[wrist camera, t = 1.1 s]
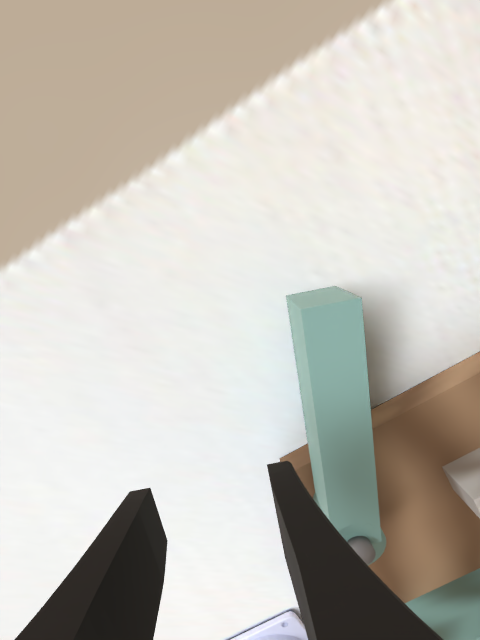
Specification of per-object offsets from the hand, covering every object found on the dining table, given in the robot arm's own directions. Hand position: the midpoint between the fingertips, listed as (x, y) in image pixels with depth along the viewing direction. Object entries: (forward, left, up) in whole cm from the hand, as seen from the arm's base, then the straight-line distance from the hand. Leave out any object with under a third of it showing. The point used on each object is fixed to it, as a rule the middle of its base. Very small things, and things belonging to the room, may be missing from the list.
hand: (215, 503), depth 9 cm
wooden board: (+8, -16, -9) cm, 21 cm away
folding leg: (+4, -5, -8) cm, 10 cm away
